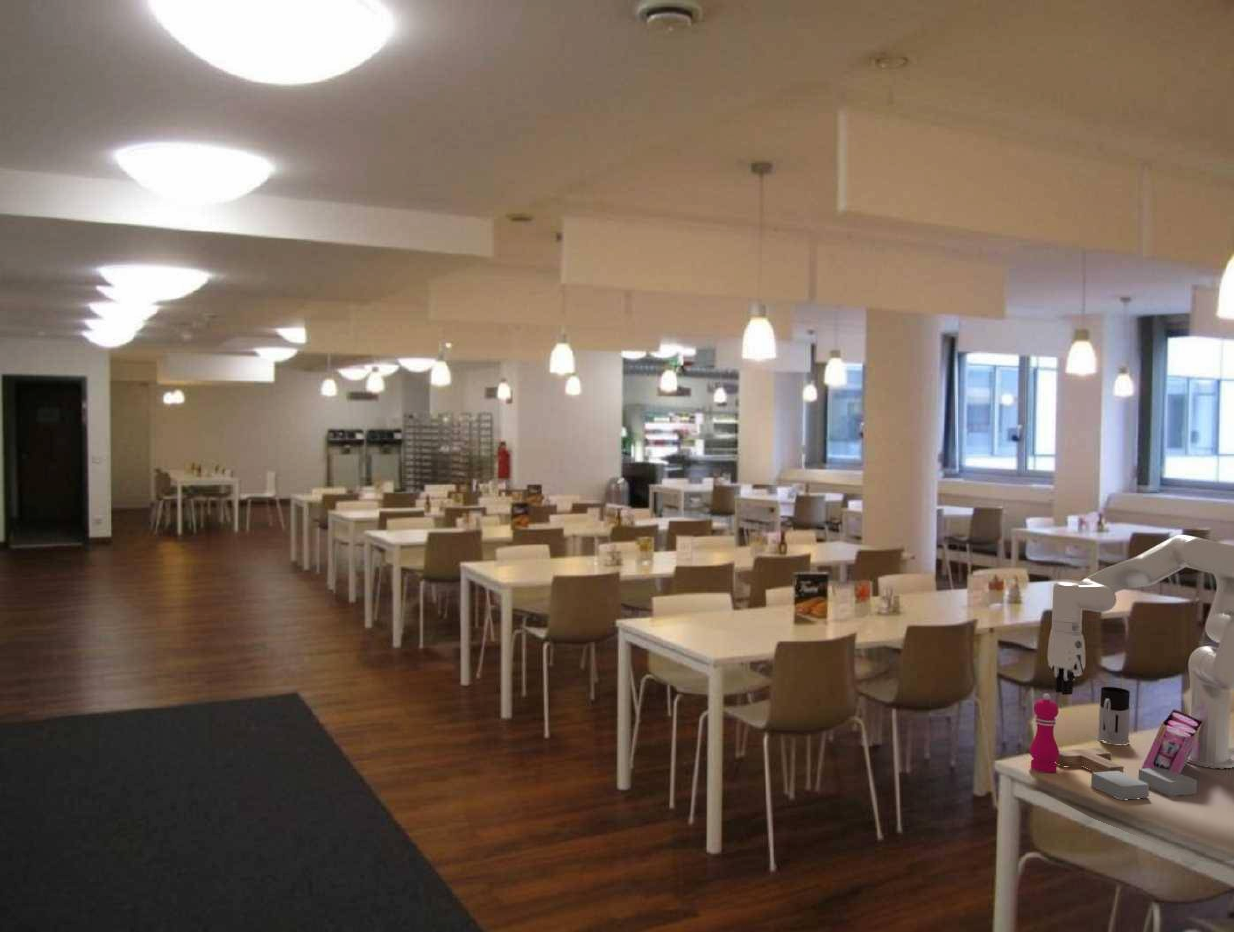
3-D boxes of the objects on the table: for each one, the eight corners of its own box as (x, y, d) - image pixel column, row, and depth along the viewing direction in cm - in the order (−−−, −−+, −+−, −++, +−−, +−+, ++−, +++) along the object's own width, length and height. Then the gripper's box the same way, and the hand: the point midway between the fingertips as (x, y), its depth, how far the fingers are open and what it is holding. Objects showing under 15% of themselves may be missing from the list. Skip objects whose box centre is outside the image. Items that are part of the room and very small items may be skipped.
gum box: (1172, 786, 250) (1192, 739, 247) (1139, 771, 254) (1159, 723, 252) (1185, 766, 269) (1204, 721, 266) (1154, 751, 273) (1173, 708, 271)
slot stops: (1163, 780, 254) (1164, 767, 253) (1196, 794, 244) (1196, 780, 244) (1091, 786, 247) (1091, 772, 247) (1121, 800, 238) (1122, 786, 238)
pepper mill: (1061, 774, 256) (1064, 698, 255) (1032, 772, 257) (1034, 696, 257) (1054, 766, 263) (1057, 691, 262) (1026, 763, 264) (1029, 689, 264)
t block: (1098, 758, 270) (1098, 748, 270) (1139, 776, 256) (1140, 765, 256) (1052, 762, 266) (1052, 751, 266) (1091, 780, 252) (1092, 768, 252)
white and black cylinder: (1133, 741, 288) (1135, 690, 287) (1119, 751, 277) (1122, 698, 277) (1101, 734, 294) (1103, 684, 293) (1086, 744, 283) (1088, 693, 283)
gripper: (1098, 632, 266) (1096, 700, 267) (1057, 621, 281) (1055, 685, 282) (1075, 633, 264) (1072, 701, 265) (1035, 622, 279) (1033, 686, 280)
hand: (1063, 692), depth 273 cm, fingers closed
